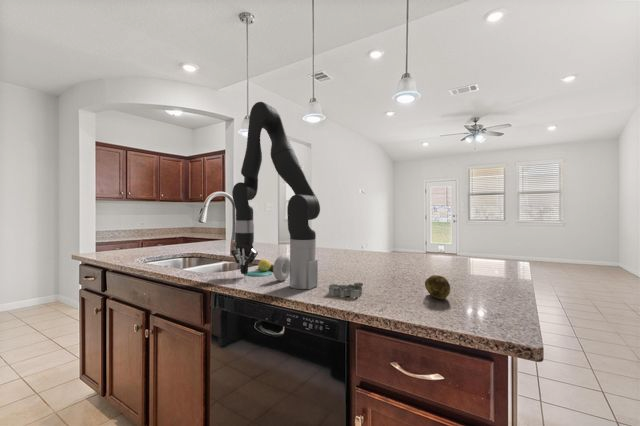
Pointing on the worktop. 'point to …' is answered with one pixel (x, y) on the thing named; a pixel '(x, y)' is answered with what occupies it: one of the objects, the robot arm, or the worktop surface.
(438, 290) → the dark green oval lump
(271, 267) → the stopper strip
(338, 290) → the egg carton
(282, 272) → the donut
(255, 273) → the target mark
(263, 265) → the ball
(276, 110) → the robot arm
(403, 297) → the worktop surface
